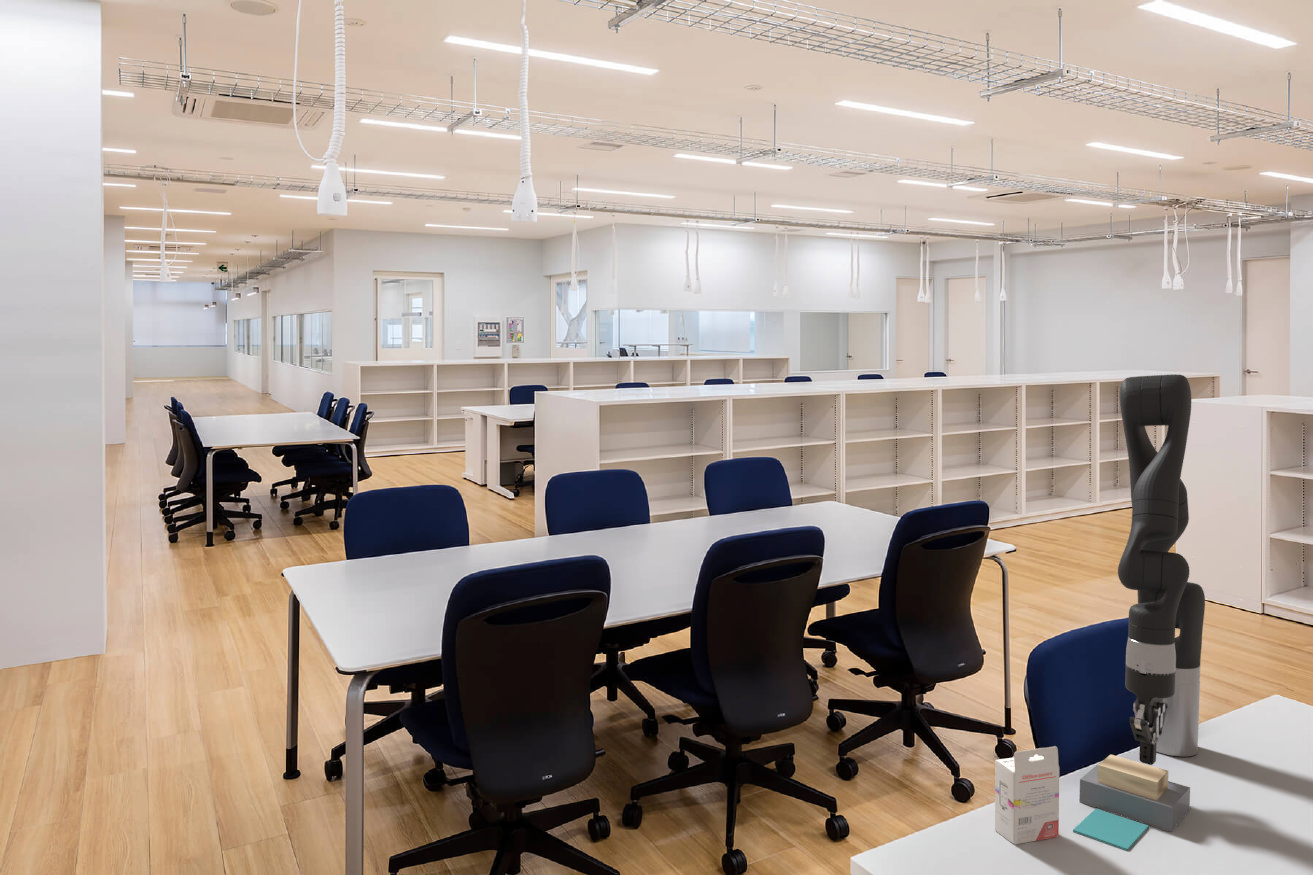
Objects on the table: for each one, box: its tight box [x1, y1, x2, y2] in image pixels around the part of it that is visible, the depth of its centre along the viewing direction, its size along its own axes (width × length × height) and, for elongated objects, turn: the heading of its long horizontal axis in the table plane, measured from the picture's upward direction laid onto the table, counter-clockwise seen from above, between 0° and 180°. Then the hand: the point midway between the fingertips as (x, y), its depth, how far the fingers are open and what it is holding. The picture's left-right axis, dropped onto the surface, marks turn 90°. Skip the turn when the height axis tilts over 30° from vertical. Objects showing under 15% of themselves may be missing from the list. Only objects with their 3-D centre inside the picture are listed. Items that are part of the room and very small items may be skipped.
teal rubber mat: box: [1072, 808, 1149, 852], centre depth 138 cm, size 10×8×1 cm
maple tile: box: [1097, 754, 1169, 800], centre depth 144 cm, size 6×9×3 cm, turn 44°
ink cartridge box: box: [994, 745, 1060, 845], centre depth 136 cm, size 9×5×15 cm, turn 105°
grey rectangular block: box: [1079, 761, 1191, 833], centre depth 145 cm, size 10×14×4 cm
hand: (1147, 762), depth 150 cm, fingers closed
